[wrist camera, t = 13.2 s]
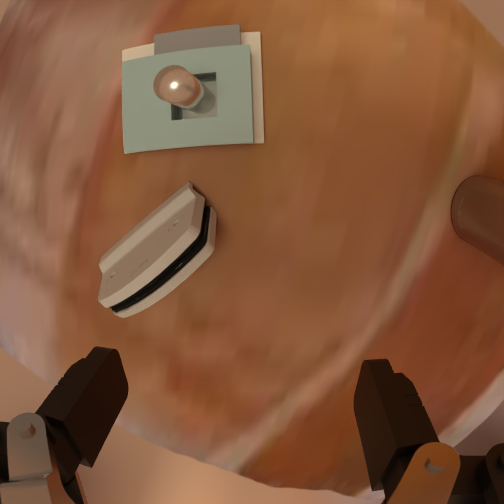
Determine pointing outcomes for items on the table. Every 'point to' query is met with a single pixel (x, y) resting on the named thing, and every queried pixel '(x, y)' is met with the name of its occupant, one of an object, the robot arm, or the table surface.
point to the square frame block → (209, 74)
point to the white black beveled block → (158, 253)
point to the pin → (183, 90)
